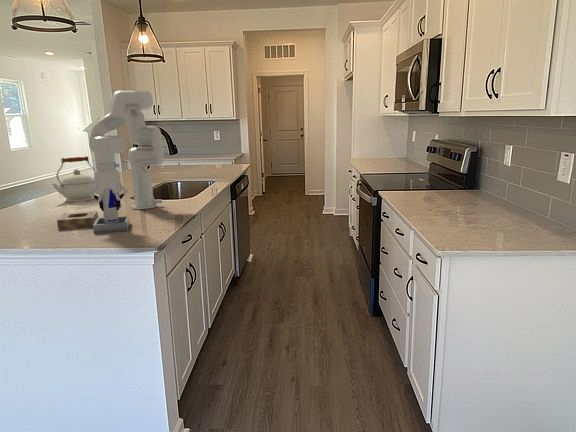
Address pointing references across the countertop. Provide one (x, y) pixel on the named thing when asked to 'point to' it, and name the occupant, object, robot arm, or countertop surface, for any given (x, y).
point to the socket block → (77, 220)
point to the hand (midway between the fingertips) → (110, 209)
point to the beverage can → (110, 206)
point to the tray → (111, 225)
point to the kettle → (75, 183)
